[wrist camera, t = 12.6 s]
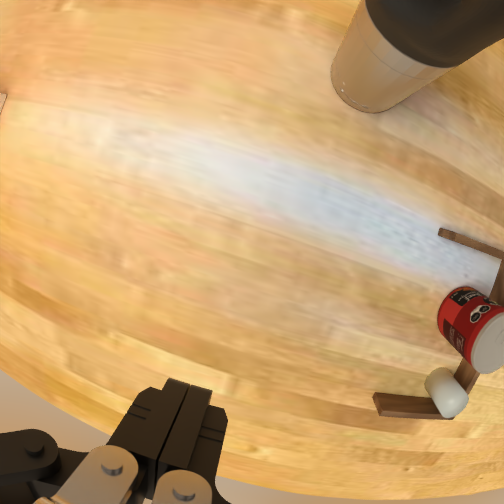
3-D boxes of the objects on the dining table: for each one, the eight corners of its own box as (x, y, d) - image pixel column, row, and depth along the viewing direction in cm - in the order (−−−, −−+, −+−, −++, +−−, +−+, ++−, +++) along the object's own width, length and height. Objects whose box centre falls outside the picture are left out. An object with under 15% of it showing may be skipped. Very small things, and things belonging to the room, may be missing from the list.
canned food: (485, 291, 37) (529, 318, 26) (464, 340, 39) (501, 376, 28) (448, 279, 37) (493, 307, 26) (427, 332, 39) (462, 372, 28)
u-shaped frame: (439, 227, 36) (456, 233, 31) (508, 254, 35) (525, 261, 31) (372, 397, 41) (379, 415, 37) (442, 403, 41) (452, 419, 37)
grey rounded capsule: (439, 363, 40) (458, 388, 33) (454, 374, 40) (473, 398, 33) (419, 385, 41) (435, 412, 34) (435, 395, 41) (451, 421, 34)
